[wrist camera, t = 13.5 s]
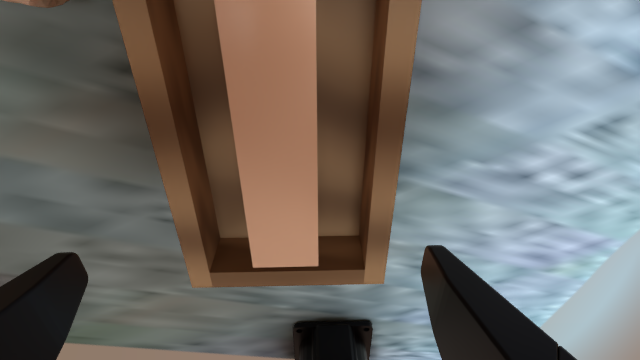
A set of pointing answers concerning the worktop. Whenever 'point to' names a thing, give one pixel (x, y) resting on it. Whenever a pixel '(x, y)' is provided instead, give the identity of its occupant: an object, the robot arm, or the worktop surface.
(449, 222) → the worktop surface
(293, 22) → the clay strip
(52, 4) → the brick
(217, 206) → the wooden open tray
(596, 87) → the worktop surface
